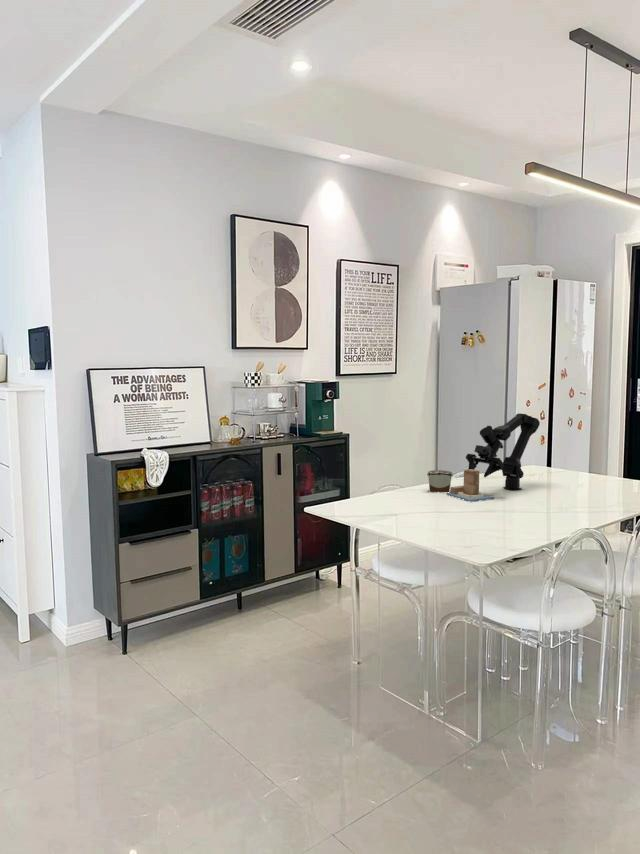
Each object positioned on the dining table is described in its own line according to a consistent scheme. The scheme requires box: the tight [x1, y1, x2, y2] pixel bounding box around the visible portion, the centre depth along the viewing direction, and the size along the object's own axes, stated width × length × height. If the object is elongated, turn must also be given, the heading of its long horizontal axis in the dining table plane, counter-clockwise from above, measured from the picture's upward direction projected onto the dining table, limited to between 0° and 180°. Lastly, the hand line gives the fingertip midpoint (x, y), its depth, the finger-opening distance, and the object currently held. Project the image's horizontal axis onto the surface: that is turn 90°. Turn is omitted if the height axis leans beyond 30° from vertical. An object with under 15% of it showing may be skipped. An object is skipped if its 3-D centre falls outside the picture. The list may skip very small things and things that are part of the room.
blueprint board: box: [446, 485, 495, 502], centre depth 322 cm, size 14×17×4 cm
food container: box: [427, 469, 453, 493], centre depth 334 cm, size 12×6×10 cm, turn 84°
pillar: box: [463, 469, 480, 496], centre depth 319 cm, size 5×5×12 cm
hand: (476, 475), depth 321 cm, fingers open, 9 cm apart
